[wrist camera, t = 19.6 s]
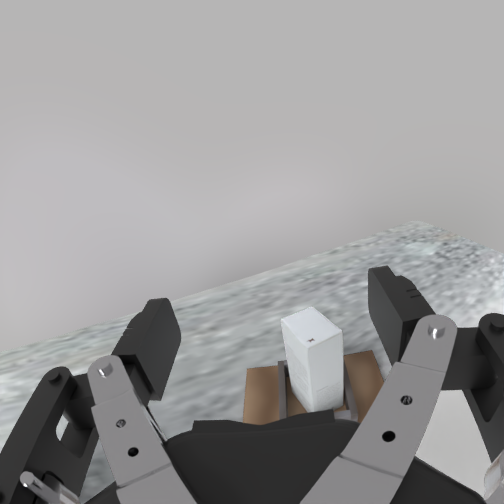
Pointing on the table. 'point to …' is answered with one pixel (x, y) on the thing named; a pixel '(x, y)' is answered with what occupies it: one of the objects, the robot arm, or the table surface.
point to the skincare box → (314, 359)
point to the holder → (286, 404)
